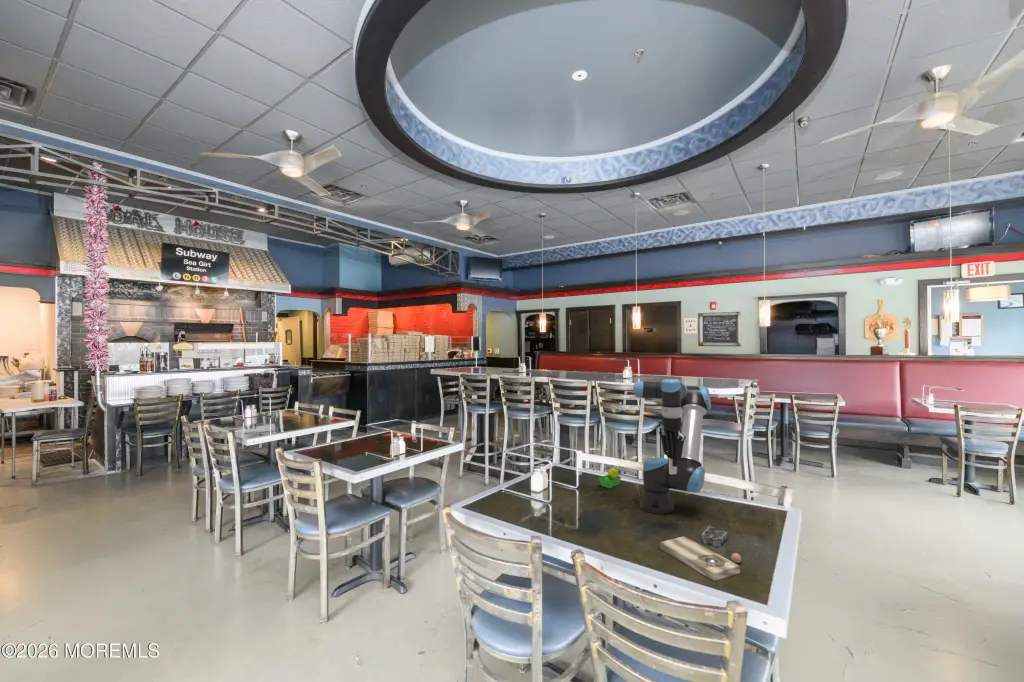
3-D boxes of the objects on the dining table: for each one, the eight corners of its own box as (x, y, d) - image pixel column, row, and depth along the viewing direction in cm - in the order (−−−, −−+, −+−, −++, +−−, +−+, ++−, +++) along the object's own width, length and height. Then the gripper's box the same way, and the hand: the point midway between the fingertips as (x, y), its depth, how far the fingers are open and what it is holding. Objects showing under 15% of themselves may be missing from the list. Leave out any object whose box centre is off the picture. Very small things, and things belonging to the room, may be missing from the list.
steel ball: (716, 557, 149) (720, 567, 148) (710, 559, 152) (714, 569, 150) (709, 559, 148) (713, 569, 146) (703, 560, 151) (707, 570, 149)
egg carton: (709, 534, 177) (709, 524, 177) (729, 539, 171) (728, 529, 171) (698, 542, 169) (698, 532, 169) (718, 548, 164) (718, 537, 164)
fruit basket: (610, 482, 244) (610, 462, 244) (623, 486, 237) (623, 465, 237) (598, 487, 236) (597, 466, 236) (611, 491, 230) (610, 470, 230)
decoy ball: (735, 559, 155) (735, 550, 155) (743, 563, 152) (743, 554, 152) (729, 561, 154) (729, 552, 154) (737, 565, 151) (736, 556, 151)
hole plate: (684, 542, 169) (684, 536, 169) (740, 573, 146) (739, 565, 146) (660, 548, 164) (660, 542, 164) (713, 581, 141) (713, 573, 141)
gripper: (653, 415, 183) (654, 470, 183) (676, 419, 171) (677, 479, 171) (667, 413, 186) (668, 468, 186) (690, 418, 174) (691, 476, 174)
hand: (672, 473), depth 178 cm, fingers closed
